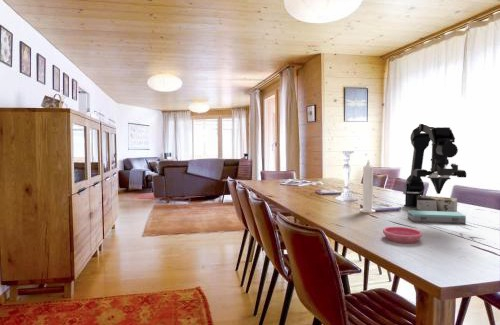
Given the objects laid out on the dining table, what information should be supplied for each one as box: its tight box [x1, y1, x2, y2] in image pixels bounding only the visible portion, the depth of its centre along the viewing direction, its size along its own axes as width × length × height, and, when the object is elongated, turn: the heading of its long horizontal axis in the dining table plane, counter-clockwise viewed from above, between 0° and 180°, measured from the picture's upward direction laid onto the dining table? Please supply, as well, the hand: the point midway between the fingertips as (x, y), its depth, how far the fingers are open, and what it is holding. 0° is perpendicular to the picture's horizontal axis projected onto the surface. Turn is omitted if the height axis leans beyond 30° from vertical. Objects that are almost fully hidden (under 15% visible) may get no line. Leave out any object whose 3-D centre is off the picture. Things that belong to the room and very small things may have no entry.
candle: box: [359, 159, 376, 214], centre depth 161 cm, size 7×7×25 cm
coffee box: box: [416, 194, 458, 212], centre depth 163 cm, size 9×6×16 cm
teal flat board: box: [407, 212, 467, 225], centre depth 142 cm, size 9×20×2 cm, turn 80°
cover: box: [407, 209, 467, 219], centre depth 142 cm, size 8×20×1 cm, turn 80°
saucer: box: [382, 226, 423, 244], centre depth 116 cm, size 12×12×3 cm
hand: (438, 193), depth 140 cm, fingers closed
